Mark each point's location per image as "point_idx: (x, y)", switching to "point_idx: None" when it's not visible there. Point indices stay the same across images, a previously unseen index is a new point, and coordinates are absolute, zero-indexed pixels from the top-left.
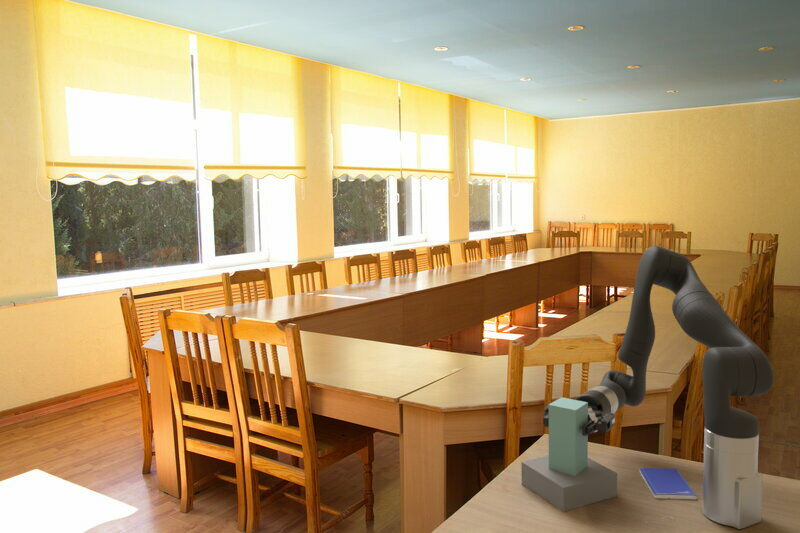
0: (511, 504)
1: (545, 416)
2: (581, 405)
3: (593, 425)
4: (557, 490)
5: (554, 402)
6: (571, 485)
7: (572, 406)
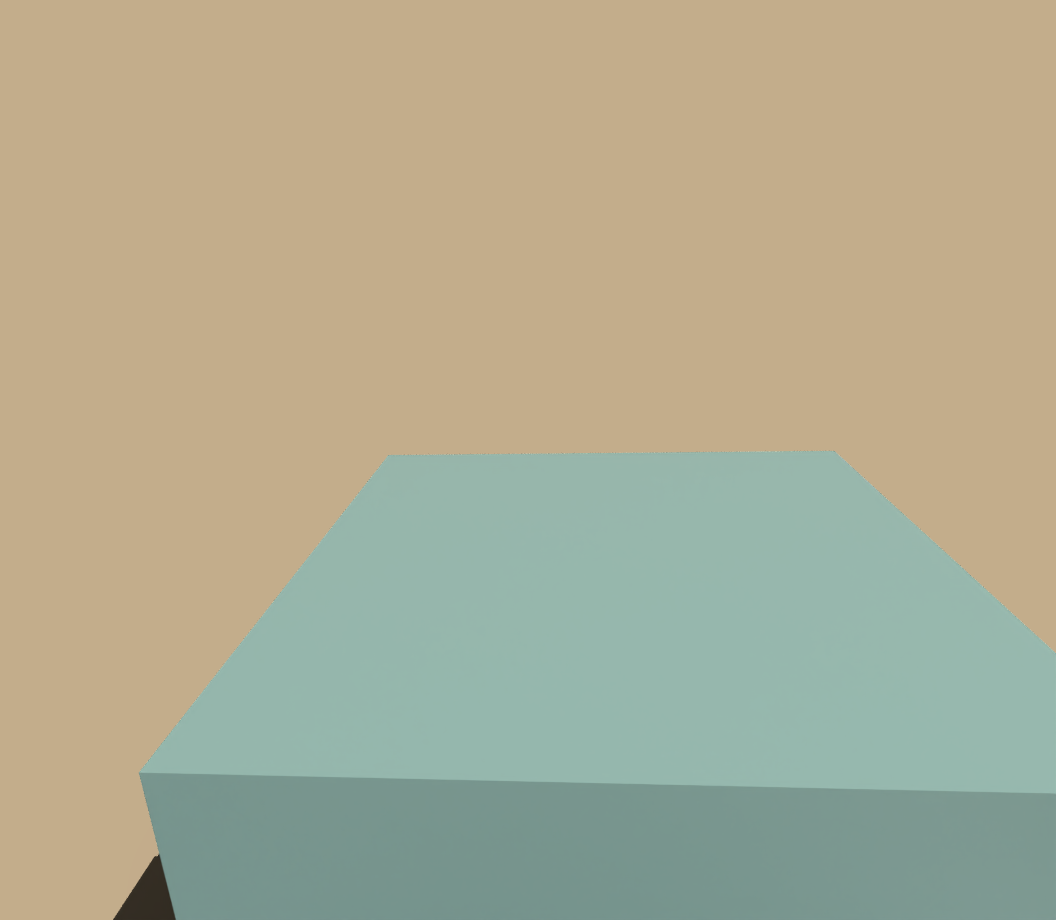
0: None
1: None
2: (325, 572)
3: (135, 888)
4: None
5: (859, 506)
6: None
7: (478, 502)
